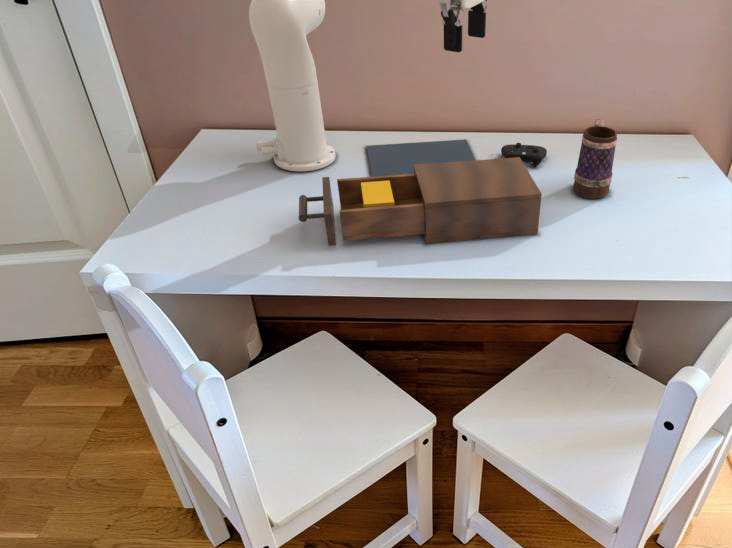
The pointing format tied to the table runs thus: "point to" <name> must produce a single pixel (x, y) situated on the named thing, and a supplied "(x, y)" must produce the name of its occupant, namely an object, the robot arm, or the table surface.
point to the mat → (415, 156)
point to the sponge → (377, 194)
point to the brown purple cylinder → (595, 161)
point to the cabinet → (478, 199)
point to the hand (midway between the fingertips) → (465, 43)
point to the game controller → (525, 153)
